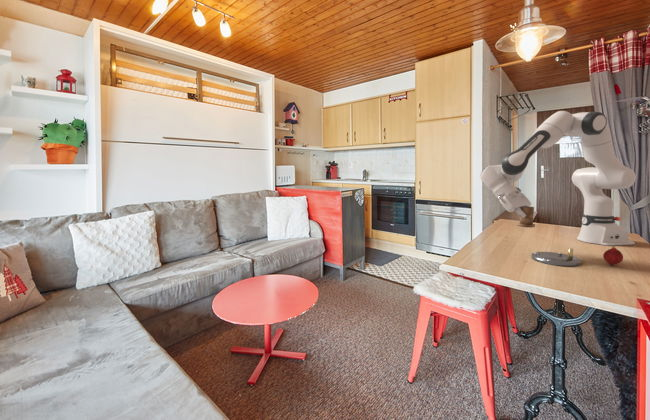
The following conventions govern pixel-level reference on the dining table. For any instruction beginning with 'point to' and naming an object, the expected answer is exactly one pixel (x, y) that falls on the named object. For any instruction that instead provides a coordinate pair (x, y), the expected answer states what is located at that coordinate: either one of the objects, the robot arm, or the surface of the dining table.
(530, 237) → the dining table surface
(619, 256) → the onion
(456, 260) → the dining table surface
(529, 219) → the bushing
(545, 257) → the flange plate
